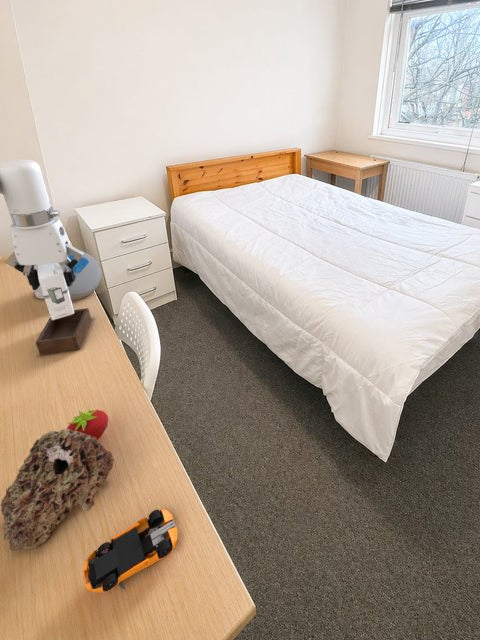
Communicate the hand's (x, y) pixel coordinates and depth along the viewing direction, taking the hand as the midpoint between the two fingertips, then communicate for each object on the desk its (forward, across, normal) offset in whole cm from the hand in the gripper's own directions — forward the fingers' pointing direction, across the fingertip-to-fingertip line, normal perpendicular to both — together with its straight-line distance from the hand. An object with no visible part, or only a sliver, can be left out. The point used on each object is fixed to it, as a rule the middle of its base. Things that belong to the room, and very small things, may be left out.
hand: (54, 284), depth 85 cm
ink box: (+7, 0, 0) cm, 7 cm away
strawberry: (+24, -11, +28) cm, 38 cm away
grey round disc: (+17, +10, -36) cm, 41 cm away
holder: (+23, +5, -10) cm, 26 cm away
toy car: (+20, -22, +50) cm, 58 cm away
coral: (+13, -3, +36) cm, 38 cm away
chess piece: (+23, +18, -38) cm, 48 cm away
